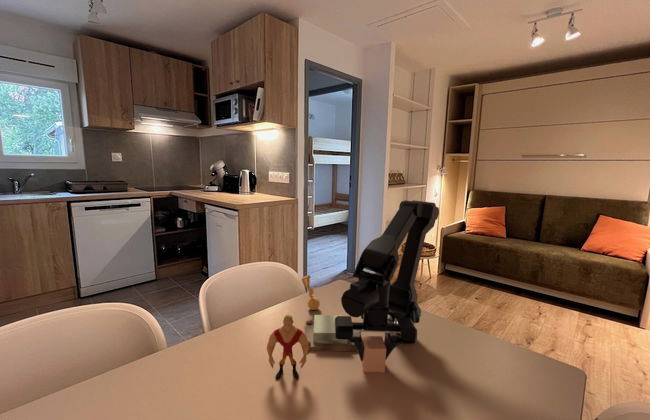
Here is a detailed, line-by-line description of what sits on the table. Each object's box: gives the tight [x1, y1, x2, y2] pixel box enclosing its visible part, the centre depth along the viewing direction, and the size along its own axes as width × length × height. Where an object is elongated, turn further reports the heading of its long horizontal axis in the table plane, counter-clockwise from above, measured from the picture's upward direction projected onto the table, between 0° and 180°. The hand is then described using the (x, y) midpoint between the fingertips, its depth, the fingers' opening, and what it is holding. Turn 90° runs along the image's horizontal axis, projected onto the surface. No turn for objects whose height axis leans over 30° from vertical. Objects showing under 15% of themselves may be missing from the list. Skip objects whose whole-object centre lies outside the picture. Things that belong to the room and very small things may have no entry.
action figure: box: [266, 314, 310, 380], centre depth 66 cm, size 10×4×15 cm, turn 92°
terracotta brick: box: [360, 335, 387, 373], centre depth 71 cm, size 5×5×6 cm
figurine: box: [301, 274, 321, 311], centre depth 96 cm, size 8×6×12 cm
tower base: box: [304, 314, 358, 352], centre depth 82 cm, size 14×12×4 cm
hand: (372, 360), depth 72 cm, fingers closed on terracotta brick, 5 cm apart
